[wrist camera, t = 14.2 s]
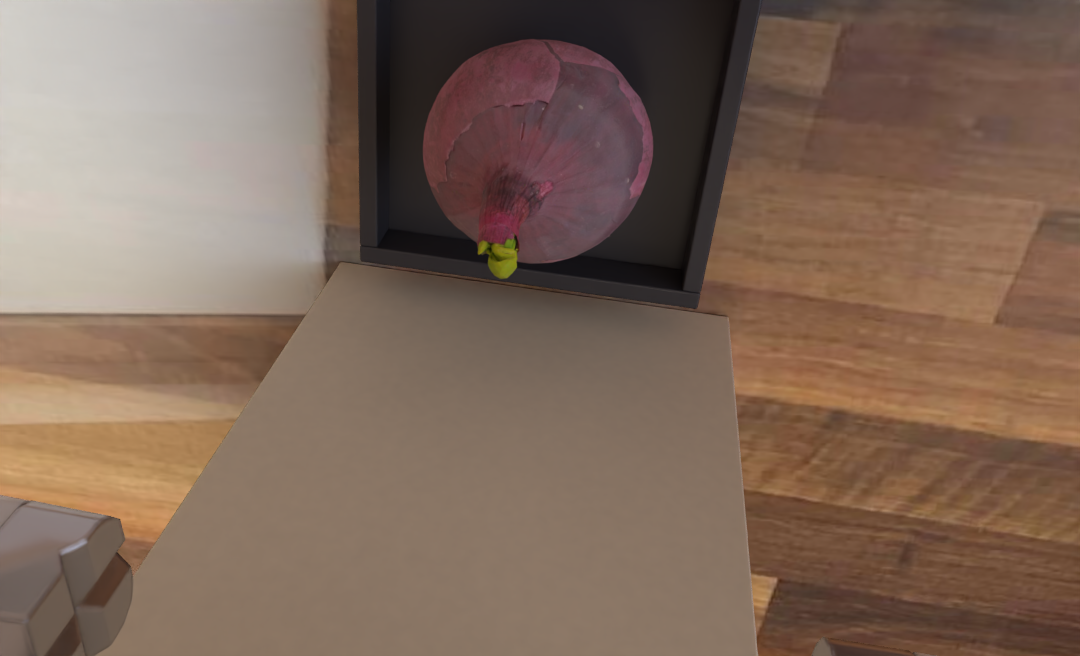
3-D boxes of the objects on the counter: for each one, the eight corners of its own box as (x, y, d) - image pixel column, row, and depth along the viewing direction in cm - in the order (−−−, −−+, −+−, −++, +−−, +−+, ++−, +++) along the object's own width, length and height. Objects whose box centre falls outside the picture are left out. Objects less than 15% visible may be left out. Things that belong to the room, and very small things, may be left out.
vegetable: (418, 124, 30) (315, 271, 21) (528, -41, 27) (459, 56, 18) (571, 233, 31) (530, 412, 23) (693, 88, 28) (698, 233, 20)
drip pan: (377, -117, 27) (354, -107, 25) (767, -71, 26) (774, -57, 24) (378, 231, 33) (359, 262, 31) (696, 276, 32) (697, 309, 30)
